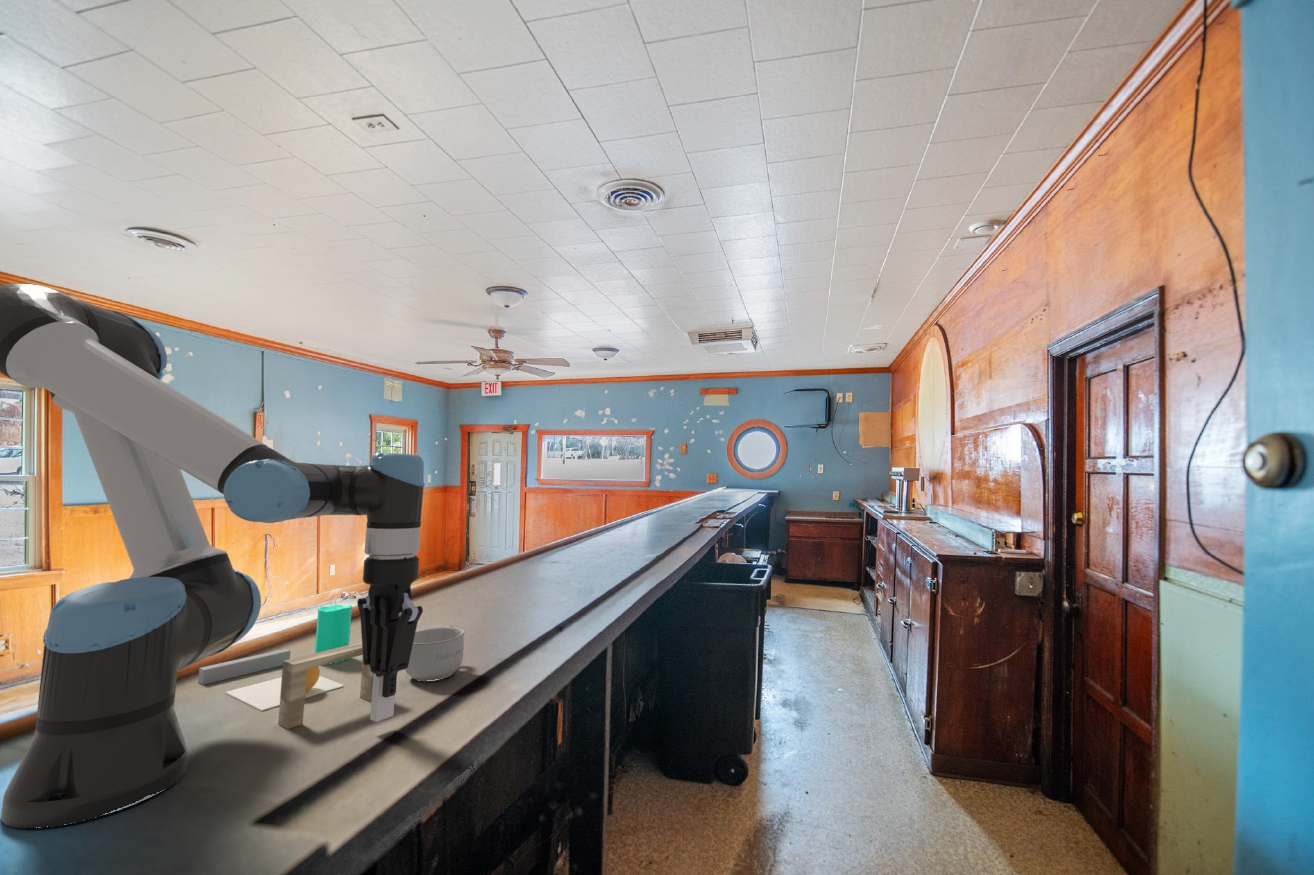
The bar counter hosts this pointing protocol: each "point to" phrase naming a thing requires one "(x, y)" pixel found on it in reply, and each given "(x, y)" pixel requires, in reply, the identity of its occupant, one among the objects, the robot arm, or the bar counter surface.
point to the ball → (312, 677)
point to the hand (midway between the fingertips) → (381, 717)
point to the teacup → (436, 653)
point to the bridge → (296, 681)
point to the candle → (333, 627)
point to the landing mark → (276, 692)
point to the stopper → (242, 666)
